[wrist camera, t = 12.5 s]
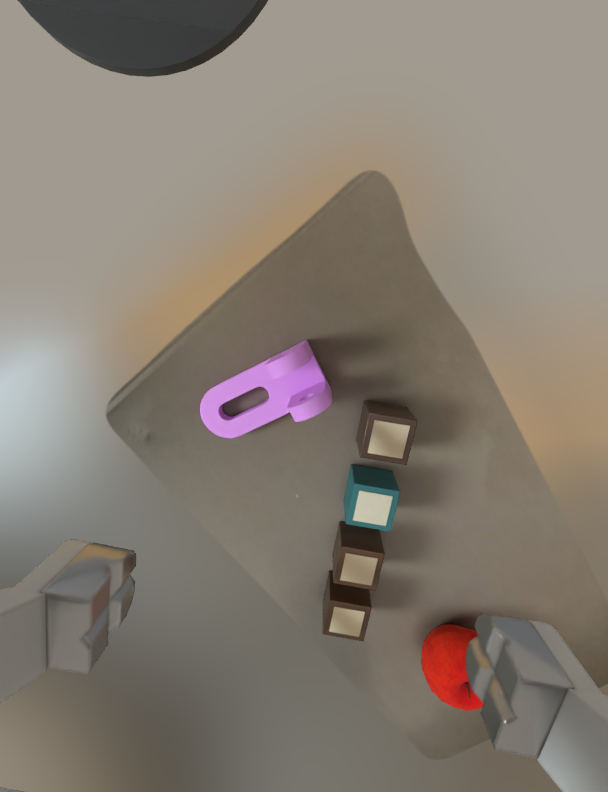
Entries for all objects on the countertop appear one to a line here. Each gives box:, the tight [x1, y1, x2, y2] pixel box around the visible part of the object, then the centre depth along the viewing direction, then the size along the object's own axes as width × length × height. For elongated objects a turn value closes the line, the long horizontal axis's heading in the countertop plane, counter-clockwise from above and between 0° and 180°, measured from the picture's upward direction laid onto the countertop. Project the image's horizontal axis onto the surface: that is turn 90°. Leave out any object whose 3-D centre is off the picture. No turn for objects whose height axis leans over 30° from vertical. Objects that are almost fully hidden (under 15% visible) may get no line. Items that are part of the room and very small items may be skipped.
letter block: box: [344, 464, 400, 532], centre depth 37 cm, size 4×4×4 cm
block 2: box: [323, 571, 372, 641], centre depth 41 cm, size 4×4×4 cm
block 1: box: [333, 522, 385, 590], centre depth 39 cm, size 4×4×4 cm
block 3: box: [356, 401, 417, 465], centre depth 36 cm, size 4×4×4 cm
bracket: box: [200, 340, 332, 438], centre depth 34 cm, size 13×6×7 cm, turn 117°
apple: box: [421, 624, 484, 711], centre depth 40 cm, size 8×8×7 cm
